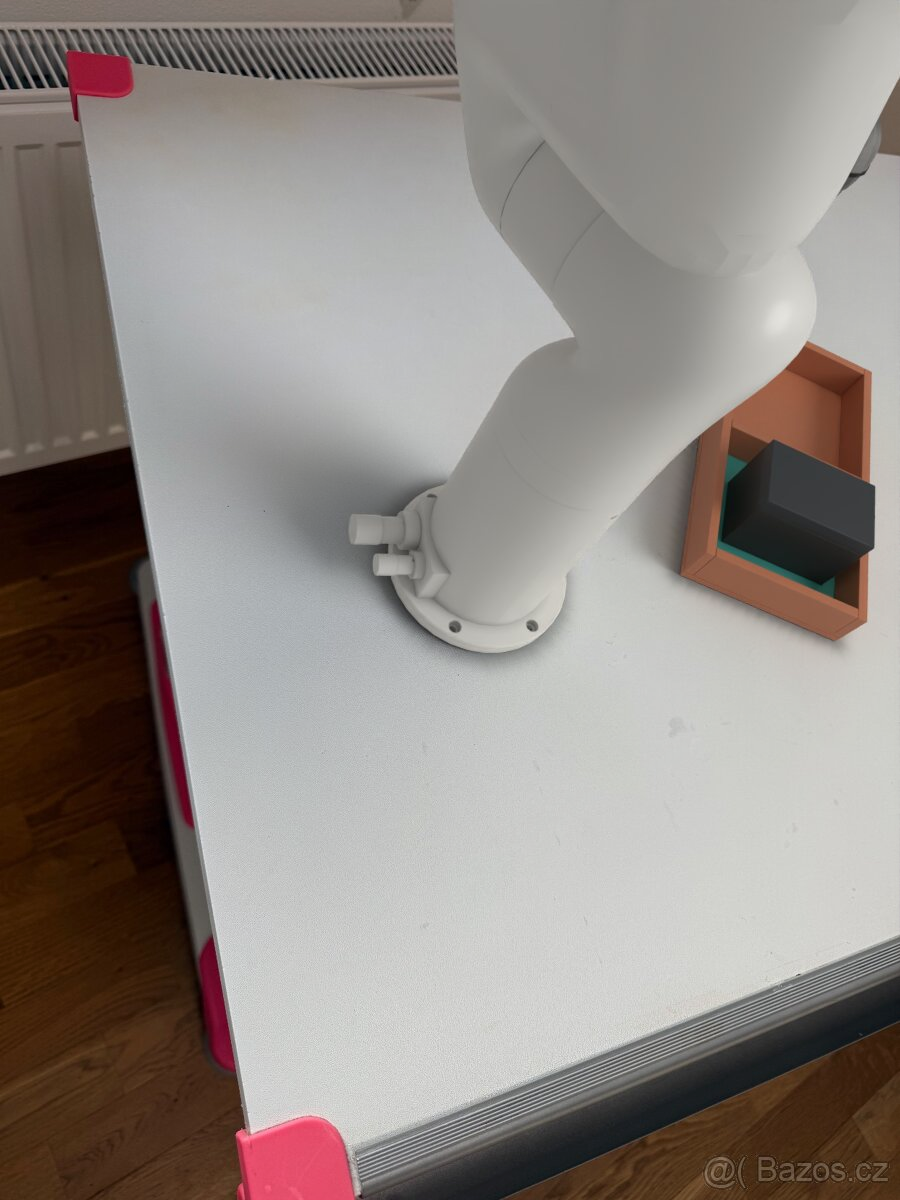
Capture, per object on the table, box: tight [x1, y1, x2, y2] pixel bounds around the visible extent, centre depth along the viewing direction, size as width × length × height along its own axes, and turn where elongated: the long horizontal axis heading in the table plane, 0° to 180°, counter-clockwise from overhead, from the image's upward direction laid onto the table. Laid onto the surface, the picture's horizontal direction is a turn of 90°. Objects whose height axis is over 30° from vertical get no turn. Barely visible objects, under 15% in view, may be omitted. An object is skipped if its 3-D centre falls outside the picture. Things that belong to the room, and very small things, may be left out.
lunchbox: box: [721, 439, 876, 585], centre depth 73 cm, size 9×6×6 cm, turn 76°
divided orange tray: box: [679, 340, 873, 642], centre depth 78 cm, size 14×26×4 cm, turn 166°
